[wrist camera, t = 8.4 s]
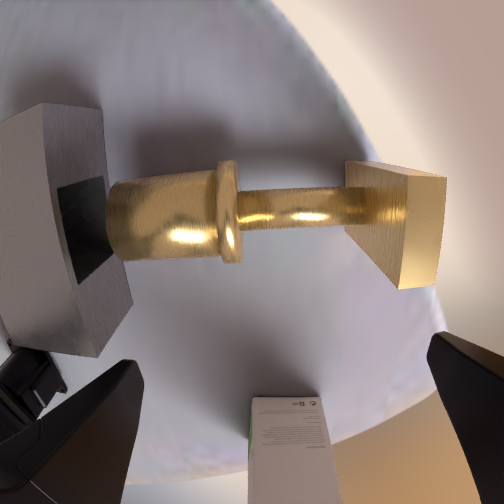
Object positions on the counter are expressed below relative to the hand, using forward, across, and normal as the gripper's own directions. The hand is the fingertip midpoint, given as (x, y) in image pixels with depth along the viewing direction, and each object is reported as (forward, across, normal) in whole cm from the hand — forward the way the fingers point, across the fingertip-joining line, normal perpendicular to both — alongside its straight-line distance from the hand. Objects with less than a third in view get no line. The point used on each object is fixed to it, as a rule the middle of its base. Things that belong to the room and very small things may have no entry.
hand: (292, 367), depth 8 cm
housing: (+12, +14, -3) cm, 19 cm away
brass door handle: (+11, +1, -3) cm, 12 cm away
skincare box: (+12, -1, +18) cm, 22 cm away
